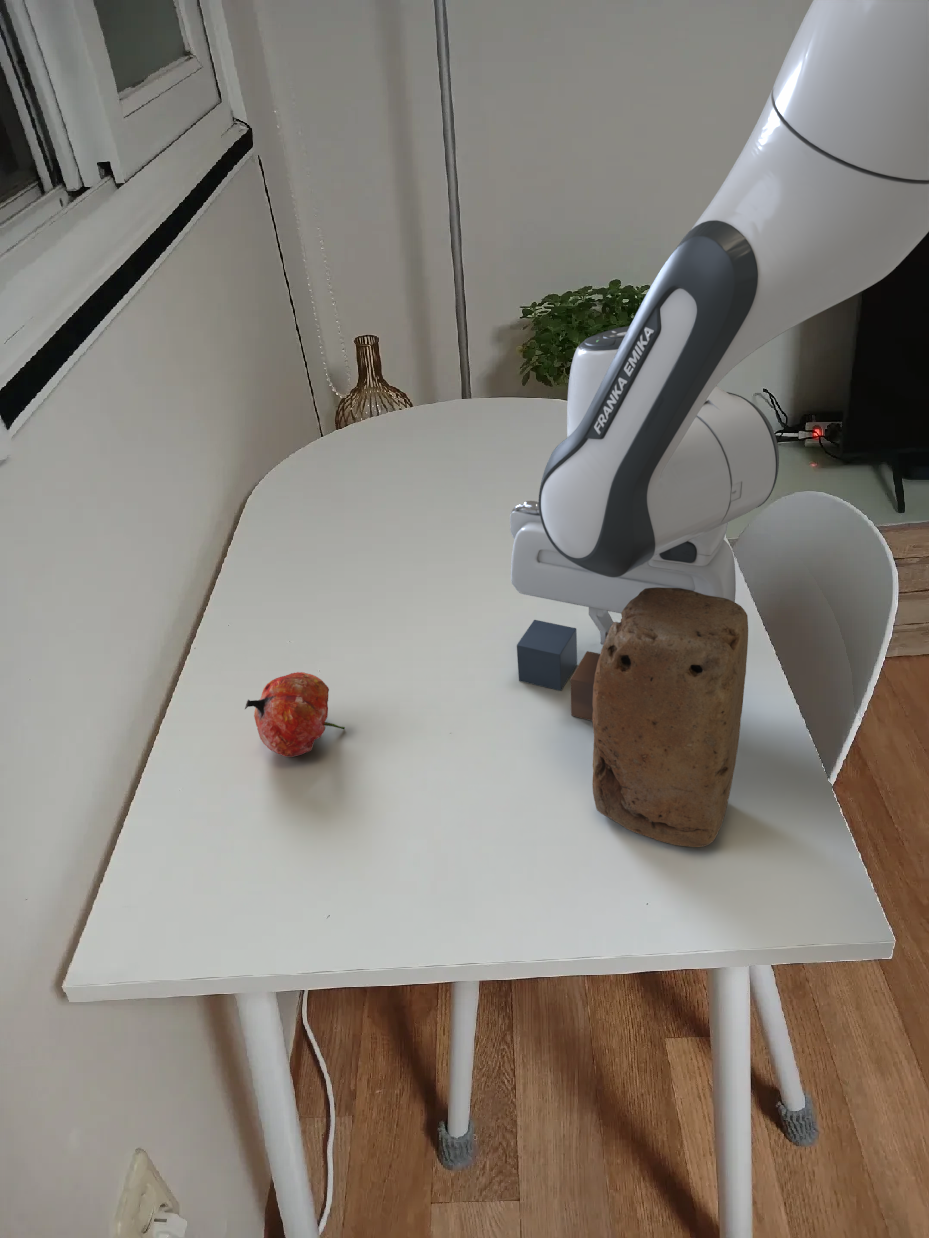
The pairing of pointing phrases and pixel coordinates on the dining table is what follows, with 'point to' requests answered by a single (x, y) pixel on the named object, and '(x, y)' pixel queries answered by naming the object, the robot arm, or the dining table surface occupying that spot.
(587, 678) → the walnut cube
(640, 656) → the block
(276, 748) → the pomegranate
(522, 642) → the slate cube
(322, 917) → the dining table surface
